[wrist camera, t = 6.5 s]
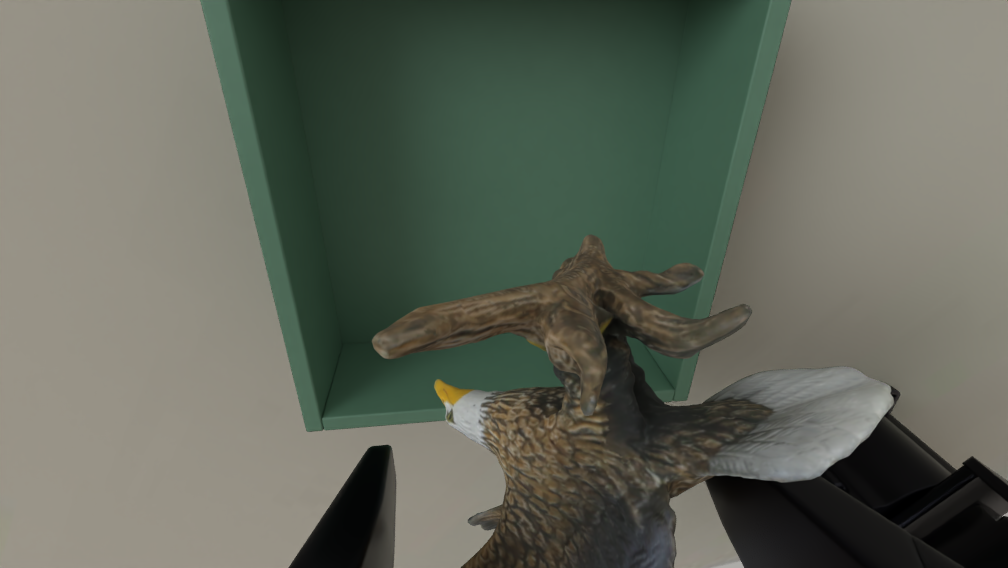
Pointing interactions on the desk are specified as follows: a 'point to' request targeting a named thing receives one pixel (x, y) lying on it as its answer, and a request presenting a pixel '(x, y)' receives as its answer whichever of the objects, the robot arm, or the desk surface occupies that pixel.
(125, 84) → the desk surface
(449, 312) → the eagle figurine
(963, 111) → the desk surface
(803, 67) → the desk surface
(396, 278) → the bin
